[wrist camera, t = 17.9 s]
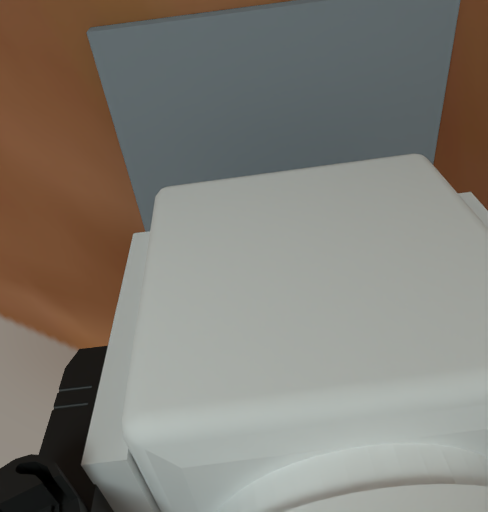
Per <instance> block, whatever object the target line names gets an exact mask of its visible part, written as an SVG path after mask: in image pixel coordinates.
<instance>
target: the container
mask: <svg viewBox="0 0 488 512" xmlns="http://www.w3.org/2000/svg"><path fill="white" fill-rule="evenodd" d="M122 431H123V438H124V440H125V442H126V444H127V446H128V448H129V450H130V452H131V454H132V456H133V458H134V460H135V462H136V464H137V466H138V468H139V470H140V472H141V474H142V475H143V477H144V479H145V481H146V483H147V485H148V487H149V489H150V491H151V493H152V495H153V497H154V499H155V501H156V503H157V505H158V507H159V509H160V511H161V512H488V228H487V227H486V226H485V224H484V223H483V222H482V221H481V220H480V219H479V218H478V216H477V215H476V214H475V213H474V212H473V211H472V209H471V208H470V207H469V206H468V205H467V204H466V203H465V201H464V200H463V199H462V198H461V197H460V196H459V194H458V193H457V192H456V191H455V190H454V189H453V188H452V186H451V185H450V184H449V183H448V182H447V181H446V179H445V178H444V177H443V176H442V175H441V174H440V173H439V171H438V170H437V169H436V168H435V167H434V166H433V164H432V163H431V162H430V161H429V160H428V159H427V158H426V157H425V156H423V155H421V154H406V155H399V156H391V157H384V158H376V159H369V160H362V161H354V162H347V163H339V164H332V165H324V166H317V167H309V168H302V169H294V170H287V171H279V172H272V173H265V174H257V175H250V176H242V177H235V178H227V179H220V180H212V181H205V182H197V183H190V184H182V185H175V186H167V187H165V188H162V189H161V190H160V191H159V192H158V194H157V195H156V196H155V202H154V209H153V216H152V222H151V229H150V236H149V242H148V249H147V256H146V262H145V269H144V276H143V282H142V289H141V295H140V302H139V309H138V315H137V322H136V329H135V335H134V342H133V349H132V355H131V362H130V369H129V375H128V382H127V389H126V395H125V402H124V408H123V415H122Z"/></svg>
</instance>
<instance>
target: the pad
mask: <svg viewBox="0 0 488 512" xmlns="http://www.w3.org/2000/svg"><path fill="white" fill-rule="evenodd" d="M459 5H460V0H296V1H288V2H281V3H273V4H265V5H258V6H250V7H243V8H235V9H228V10H220V11H213V12H205V13H197V14H190V15H182V16H175V17H167V18H160V19H152V20H145V21H137V22H129V23H122V24H114V25H107V26H99V27H92V28H90V29H89V30H88V31H87V36H88V39H89V42H90V46H91V49H92V52H93V56H94V59H95V63H96V66H97V69H98V73H99V76H100V79H101V83H102V86H103V90H104V93H105V96H106V100H107V103H108V106H109V110H110V113H111V116H112V120H113V123H114V127H115V130H116V133H117V137H118V140H119V143H120V147H121V150H122V154H123V157H124V160H125V164H126V167H127V170H128V174H129V177H130V180H131V184H132V187H133V191H134V194H135V197H136V201H137V204H138V207H139V211H140V214H141V217H142V221H143V224H144V228H145V231H146V232H149V231H150V229H151V222H152V216H153V209H154V202H155V196H156V195H157V194H158V192H159V191H160V190H161V189H162V188H165V187H167V186H175V185H182V184H190V183H197V182H205V181H212V180H220V179H227V178H235V177H242V176H250V175H257V174H265V173H272V172H279V171H287V170H294V169H302V168H309V167H317V166H324V165H332V164H339V163H347V162H354V161H362V160H369V159H376V158H384V157H391V156H399V155H406V154H421V155H423V156H425V157H426V158H427V159H428V160H429V161H430V162H431V163H432V164H433V162H434V156H435V150H436V144H437V138H438V132H439V126H440V120H441V113H442V107H443V101H444V95H445V89H446V83H447V77H448V71H449V65H450V59H451V53H452V47H453V41H454V35H455V29H456V23H457V17H458V11H459Z"/></svg>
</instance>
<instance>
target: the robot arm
mask: <svg viewBox="0 0 488 512" xmlns="http://www.w3.org/2000/svg"><path fill="white" fill-rule="evenodd" d="M458 194H459V196H460V197H461V198H462V199H463V200H464V201H465V203H466V204H467V205H468V206H469V207H470V208H471V209H472V211H473V212H474V213H475V214H476V215H477V216H478V218H479V219H480V220H481V221H482V222H483V223H484V224H485V226H486V227H487V228H488V211H487V210H486V209H485V207H484V206H483V205H482V204H481V203H480V202H479V201H478V199H477V198H476V197H475V196H474V195H473V194H472V193H471V192H467V193H458ZM149 236H150V231H149V232H141V233H134V234H133V238H132V242H131V247H130V251H129V256H128V260H127V264H126V269H125V273H124V278H123V282H122V286H121V291H120V295H119V300H118V304H117V308H116V313H115V317H114V322H113V326H112V330H111V335H110V339H109V344H108V346H102V347H94V348H85V349H79V351H78V352H77V353H76V355H75V356H74V357H73V359H72V360H71V361H70V362H69V364H68V365H67V366H66V368H65V371H64V374H63V377H62V381H61V384H60V387H59V393H57V397H56V400H55V403H54V410H53V411H52V413H51V416H50V420H49V423H48V426H47V429H46V432H45V436H44V439H43V443H42V446H41V449H40V452H39V455H32V454H31V455H28V456H24V457H21V458H18V459H15V460H13V461H11V462H10V463H8V464H7V465H5V466H4V467H2V468H0V512H161V511H160V509H159V507H158V505H157V503H156V501H155V499H154V497H153V495H152V493H151V491H150V489H149V487H148V485H147V483H146V481H145V479H144V477H143V475H142V474H141V472H140V470H139V468H138V466H137V464H136V462H135V460H134V458H133V456H132V454H131V452H130V450H129V448H128V446H127V444H126V442H125V440H124V438H123V431H122V415H123V408H124V402H125V395H126V389H127V382H128V375H129V369H130V362H131V355H132V349H133V342H134V335H135V329H136V322H137V315H138V309H139V302H140V295H141V289H142V282H143V276H144V269H145V262H146V256H147V249H148V242H149Z"/></svg>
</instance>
